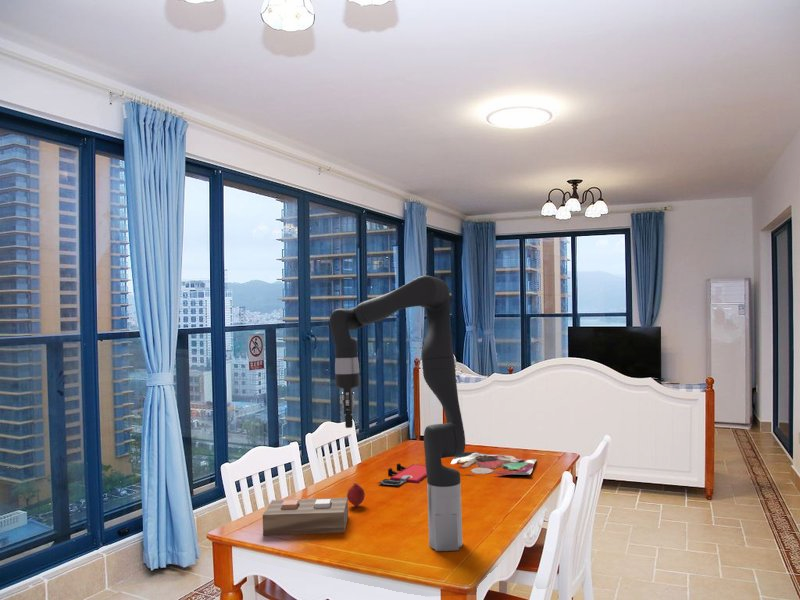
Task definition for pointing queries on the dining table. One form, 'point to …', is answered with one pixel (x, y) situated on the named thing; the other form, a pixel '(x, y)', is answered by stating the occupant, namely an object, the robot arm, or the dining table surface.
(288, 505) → the key terracotta
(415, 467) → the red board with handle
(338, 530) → the wooden button box
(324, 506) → the white cube
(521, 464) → the multicolored flat sheet
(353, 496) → the onion
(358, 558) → the dining table surface
